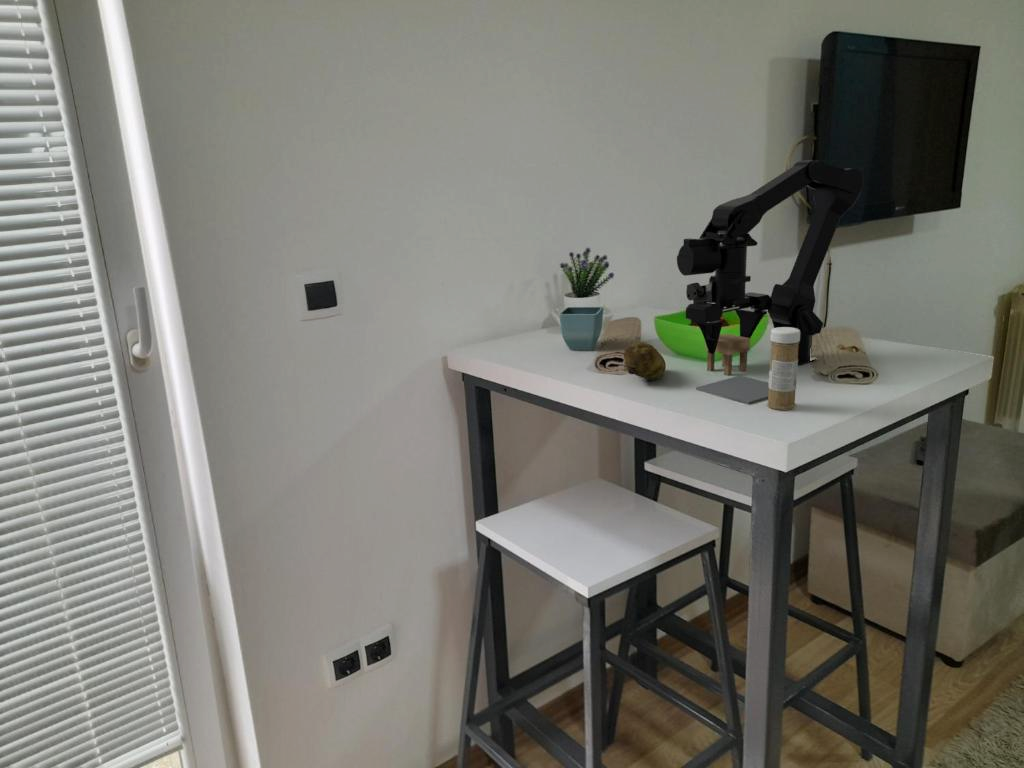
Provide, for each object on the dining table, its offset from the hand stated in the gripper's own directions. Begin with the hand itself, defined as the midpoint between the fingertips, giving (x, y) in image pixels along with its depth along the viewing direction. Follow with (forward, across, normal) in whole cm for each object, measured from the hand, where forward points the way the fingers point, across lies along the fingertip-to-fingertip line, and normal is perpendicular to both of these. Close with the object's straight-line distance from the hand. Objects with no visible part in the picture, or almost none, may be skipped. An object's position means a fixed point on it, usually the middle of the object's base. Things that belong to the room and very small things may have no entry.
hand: (727, 349), depth 147 cm
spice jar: (+4, +11, +21) cm, 25 cm away
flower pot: (+4, +9, -35) cm, 36 cm away
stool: (+4, 0, 0) cm, 4 cm away
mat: (+4, +8, +11) cm, 14 cm away
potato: (+4, +16, -6) cm, 18 cm away
